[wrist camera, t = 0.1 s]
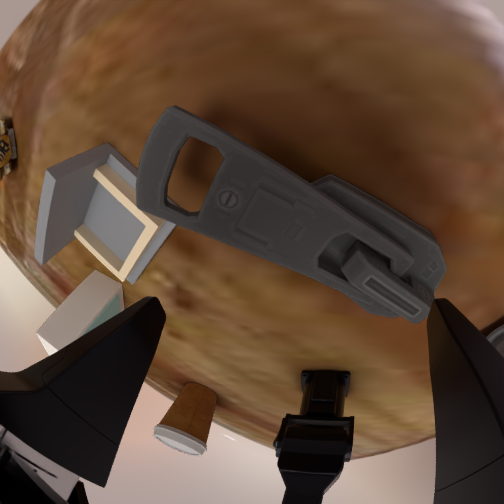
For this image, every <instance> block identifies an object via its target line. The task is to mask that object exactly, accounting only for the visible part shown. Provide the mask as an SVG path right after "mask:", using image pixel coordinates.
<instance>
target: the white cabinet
mask: <svg viewBox="0 0 504 504" xmlns="http://www.w3.org/2000/svg"><path fill="white" fill-rule="evenodd" d="M123 310H124V300H123V288H122V284H120V283H119V282H117V281H115V280H113V279H111V278H109V277H108V276H106V275H104V274H102V273H100V272H99V271H97V270H94V271H93V272H92V273H91V274H90V275H89V276H88V277H87V278H86V279H85V280H84V281H83V282H82V283H81V284H80V285H79V286H78V287H77V288H76V289H75V290H74V291H73V292H72V293H71V294H70V295H69V296H68V297H67V298H66V299H65V300H64V301H63V303H62V304H61V305H60V306H59V307H58V308H57V309H56V310H55V311H54V312H53V313H52V314H51V316H50V317H49V318H48V319H47V320H46V321H45V322H44V324H43V325H42V326H41V327H40V328H39V329H38V330H37V332H36V333H37V335H38V337H39V339H40V341H41V342H42V344H43V346H44V348H45V349H46V351H47V353H48V354H49V356H50V355H52V354H54V353H55V352H57V351H58V350H60V349H62V348H63V347H65V346H67V345H68V344H70V343H72V342H73V341H75V340H76V339H78V338H79V337H81V336H83V335H84V334H86V333H87V332H89V331H91V330H92V329H94V328H96V327H97V326H99V325H100V324H102V323H104V322H105V321H107V320H108V319H110V318H112V317H113V316H115V315H117V314H118V313H120V312H121V311H123Z"/></svg>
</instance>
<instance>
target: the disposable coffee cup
mask: <svg viewBox="0 0 504 504" xmlns="http://www.w3.org/2000/svg"><path fill="white" fill-rule="evenodd" d="M217 398H218V397H217V395H216V394H215V393H214V392H213V391H212V390H210V389H209V388H207V387H205V386H203V385H200V384H196V383H187V384H186V385H185V386H184V388H183V389H182V391H181V392H180V394H179V395H178V397H177V398H176V400H175V401H174V403H173V404H172V406H171V407H170V409H169V410H168V412H167V413H166V415H165V416H164V418H163V419H162V420H161V422H160V423H159V424H157V426H155V427H154V435H153V436H154V437H155V438H156V439H157V440H159V441H160V442H162V443H163V444H165V445H167V446H169V447H171V448H173V449H176V450H178V451H180V452H183V453H186V454H189V455H193V456H202V454H203V453H204V452H205V451H207V448H206V447H207V445H206V442H207V438H208V434H209V430H210V426H211V422H212V418H213V414H214V410H215V406H216V402H217Z"/></svg>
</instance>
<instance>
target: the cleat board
mask: <svg viewBox="0 0 504 504" xmlns="http://www.w3.org/2000/svg"><path fill="white" fill-rule="evenodd" d="M137 172H138V170H137V169H136V168H135V167H134V166H133V165H132V164H131V163H130V162H129V161H128V160H126V159H125V158H124V157H123V156H122V155H121V154H120V153H119V152H118V151H117V150H115V149H114V148H113V147H112V146H111V145H110V144H109V143H105V144H103V145H100V146H98V147H95V148H93V149H90V150H88V151H85V152H83V153H81V154H78V155H76V156H74V157H71V158H69V159H67V160H65V161H63V162H60V163H58V164H56V165H54V166H52V167H50V168H48V169H46V173H45V178H44V183H43V188H42V193H41V199H40V206H39V213H38V221H37V230H36V241H35V256H34V257H35V258H36V259H37V261H38V262H39V263H40V264H41V265H42V266H43V265H44V264H45V263H46V262H47V261H48V260H49V259H51V258H52V257H53V256H54V255H55V254H56V253H58V252H59V251H60V250H61V249H62V248H64V247H65V246H66V245H67V244H69V243H70V242H71V241H72V240H74V239H75V238H76V237H77V239H78V240H79V241H80V242H81V243H82V244H83V245H84V246H85V247H86V248H87V249H88V250H89V251H90V252H91V253H92V254H93V255H94V256H95V257H96V258H97V259H99V260H100V261H101V262H102V263H103V264H104V265H105V266H106V267H107V268H108V269H109V270H110V271H111V272H112V273H113V274H114V275H115V276H117V277H118V278H119V279H120V280H121V281H122V282H124V280H125V279H127V280H128V281H129V282H130V283H131V284H132V285H133V284H134V283H135V282H136V281H137V279H138V278H139V276H140V275H141V274H142V272H143V271H144V269H145V268H146V266H147V265H148V264H149V262H150V261H151V259H152V258H153V257H154V255H155V254H156V252H157V251H158V250H159V248H160V247H161V246H162V244H163V243H164V242H165V240H166V239H167V238H168V236H169V235H170V234H171V232H172V231H173V230H174V228H175V227H176V226H177V225H176V224H174V223H171V222H169V221H166V220H164V219H161V218H159V217H156V216H154V215H151V214H149V213H146V212H144V211H141V210H139V209H138V208H137V206H136V179H137ZM167 200H168V201H169V203H171V204H174V205H176V204H175V203H174V202H173V201H172V200H171V199H170V198H168V197H167ZM176 206H177V205H176ZM178 207H179V206H178Z"/></svg>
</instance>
